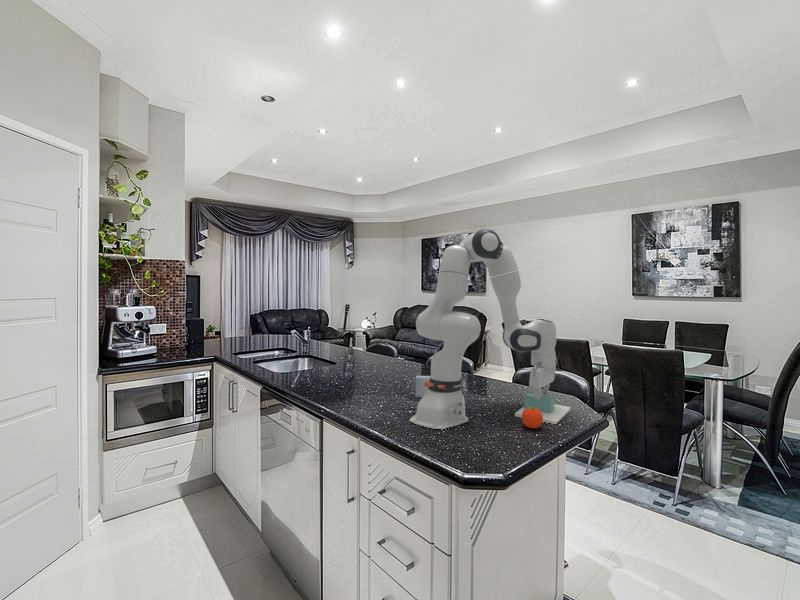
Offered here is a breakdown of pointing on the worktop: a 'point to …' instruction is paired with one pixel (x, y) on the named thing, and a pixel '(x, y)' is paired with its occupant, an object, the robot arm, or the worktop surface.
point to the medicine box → (421, 385)
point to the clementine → (532, 417)
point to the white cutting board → (550, 414)
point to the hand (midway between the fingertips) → (541, 396)
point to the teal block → (540, 403)
